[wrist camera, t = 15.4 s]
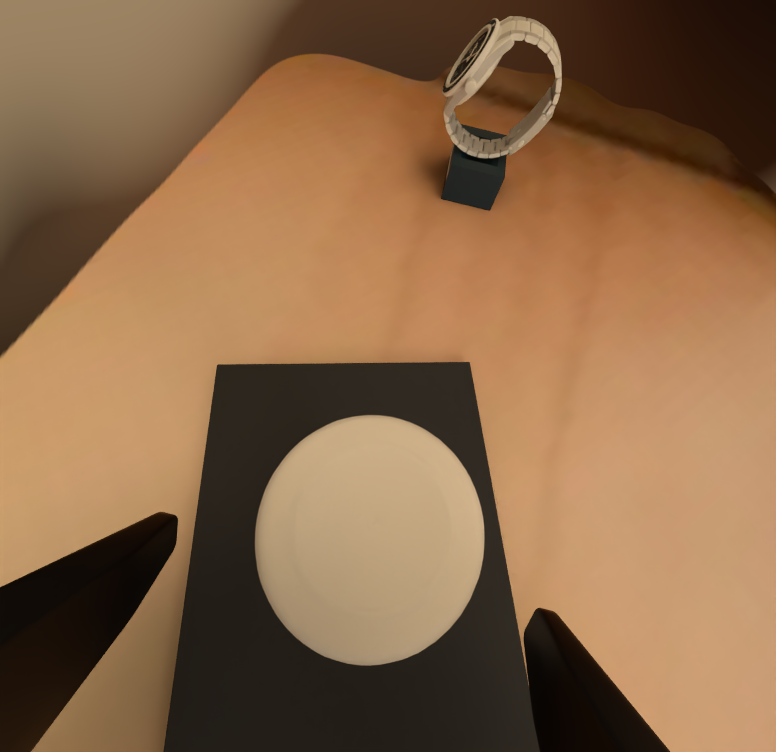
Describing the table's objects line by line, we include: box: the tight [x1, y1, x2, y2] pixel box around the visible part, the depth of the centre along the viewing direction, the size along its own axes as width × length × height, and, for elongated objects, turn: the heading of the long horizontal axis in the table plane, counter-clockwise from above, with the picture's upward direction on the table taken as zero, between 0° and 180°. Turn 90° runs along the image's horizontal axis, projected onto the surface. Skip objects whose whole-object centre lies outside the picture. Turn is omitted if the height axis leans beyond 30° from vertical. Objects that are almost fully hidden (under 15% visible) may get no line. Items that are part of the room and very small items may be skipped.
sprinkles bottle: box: [255, 415, 484, 666], centre depth 13 cm, size 5×5×14 cm
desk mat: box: [164, 362, 540, 752], centre depth 19 cm, size 20×16×1 cm
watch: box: [441, 16, 562, 210], centre depth 28 cm, size 6×8×11 cm
